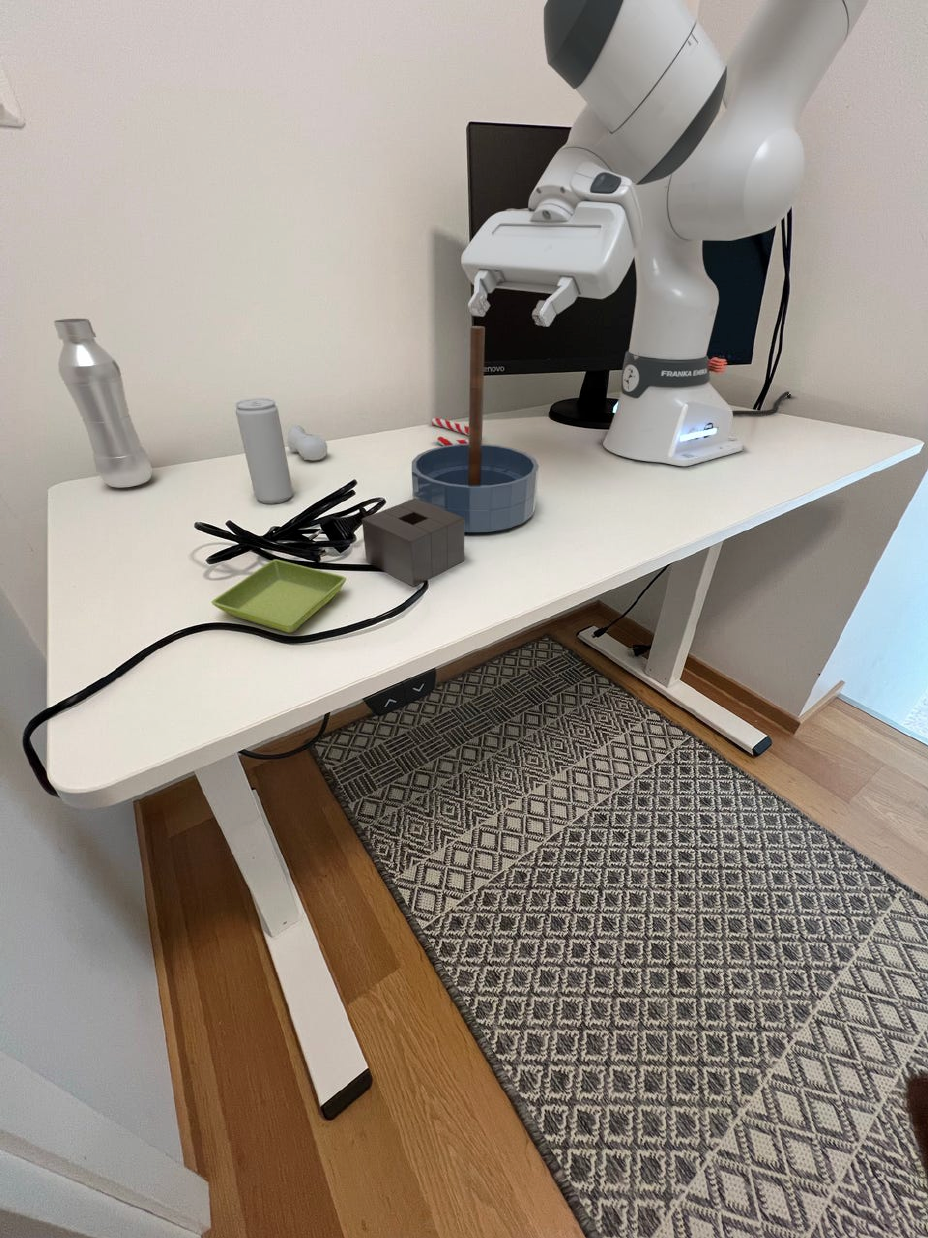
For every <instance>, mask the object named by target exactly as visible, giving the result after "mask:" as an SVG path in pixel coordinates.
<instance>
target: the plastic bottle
mask: <svg viewBox="0 0 928 1238" xmlns="http://www.w3.org/2000/svg"><path fill="white" fill-rule="evenodd" d="M53 324H54V328H55V330H56V332H57V337H58V340H62V343H63V346H62V349H61V351H60V354H59V358H58V364H57V366H58V373H59V375H60V378H61V380H62V381H63V383H64V385H65V387H66V389H67V391H68V393H69V394H70V397H71V398H72V401H73V402H74V404H75V406H76V408H77V410H78V412H79V415H80V417H81V418H82V422H83V424H84V426H85V429H86V432H87V435H88V439H89V442H90V446H91V450H92V452H93V454H92V456H93V462H94V466H95V471H96V472H97V475H99V477H100V480H101V481H103V483H105V484H106V485H107V486H109V487H111V488H131V487H135V486H140V485H142V484H145V483H147V482H148V481H150V480H151V477H152V475H153V469H152V462H151V460H150V457H149V455H148V453H147V452H146V450H145V448H144V446H143V445H142V442H141V440H140V438H139V436H138V433H137V430H136V428H135V426H134V423H133V421H132V417H131V414H130V412H129V411H130V410H129V407H128V403H127V399H126V394H125V388H124V384H123V382H124V381H123V378H122V373H121V369H120V366H119V364H118V363H117V361H116V360H115V359H114V358H113V356H112V355H111V354H110V353H109V352H108V351H107V350H106V349H105V348H103V347H102V346H101V345H100V344H98V343H97V342H96V339H95V338H96V337H97V334H96V332H95V331H94V329H93V325H92V324H91V321H90V318H89V319H88V318H61V319H56V320H53Z"/></svg>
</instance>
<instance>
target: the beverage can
mask: <svg viewBox="0 0 928 1238" xmlns="http://www.w3.org/2000/svg"><path fill="white" fill-rule="evenodd" d="M234 406H235V415H236V419H237V420H236V421H237V424H238V428H239V433H240V438H241V441H242V446H243V451H244V454H245V459H246V462H247V463H246V464H247V467H248V472H249V476H250V480H251V484H252V488H253V494H254V497H255V498H256V500H258V502H260V503H263V504H266V505H267V504H268V505H273V504H274V505H275V504H276V505H277V504H281V503H285V502H286V501H288V500H290V499H291V497H292V496H293V494H294V490H293V484H292V479H291V473H290V468H289V467H290V466H289V461H288V457H287V452H286V451H287V450H286V447H285V441H284V435H283V431H282V424H281V419H280V414H279V409H278V406H277V405H276V401H275V400H274V399H273V398H268V397H267V398H266V397H254V398H253V397H252V398H246V399H242V400H238V401H236V402H235V403H234Z"/></svg>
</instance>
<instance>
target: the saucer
mask: <svg viewBox="0 0 928 1238" xmlns="http://www.w3.org/2000/svg"><path fill="white" fill-rule="evenodd" d="M346 581H347V577H345V576H343V575H340V574H336V573H332V572H330V571H329V572H327V571H324V570H320V569H316V568H312V567H308V566H304V565H300V564H297V563H293V562H289V561H285V560H280V559H275V558H274V559H272V560H270V561H269V562H267V563H266V564H264V565H263V566H262V567H260V568H259V569H257V570H256V571H254V572H253V573H251V574H250V575H249V576H247V577H245V578H244V579H242V580H241V581H240V582H238V583H237V584H235V585H234V586H232V587H231V588H229V589H228V590H226V591H225V592H223V593H221V594H220V595H218V596H217V597H216V598H214V599H213V600H212V601H211V604H212V605H213V606H214V607H216V608H217V609H219V610H220V611H222V612H224V613H226V614H228V615H230V616H234V617H236V618H238V619H241V620H245V621H249V622H252V623H256V624H259V625H261V626H264V627H265V626H266V627H268V628H271V629H275V630H277V631H278V630H279V631H282V632H284V633H288V634H290V633H293V632H295V631H296V630H297V629H298V628H299V627H300V626H301V625H303V624H304V623H305V622H307V620H308V619H309V618H311V617H312V616H313V615H314V614H316V613H317V611H319V610H320V609H321V608H323V606H325V605H326V604H327V603H328V602H330V601H331V600H332V599H333V598H334V597H335V596H336V595H337V594H338V593H339V591H340V590H341V589H342V587H343V586H344V585H345V583H346Z"/></svg>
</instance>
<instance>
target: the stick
mask: <svg viewBox="0 0 928 1238" xmlns="http://www.w3.org/2000/svg"><path fill="white" fill-rule="evenodd" d="M485 340H486V327H485V326H482V325H472V326H470V327H469V351H468V353H469V355H468V356H469V357H468V358H469V359H468V360H469V364H468V427H469V436H468V439H469V441H468V486H480V485H481V464H482V444H483V423H484V420H483V417H484V414H483V413H484V383H485V381H484V380H485V345H486V344H485Z"/></svg>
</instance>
